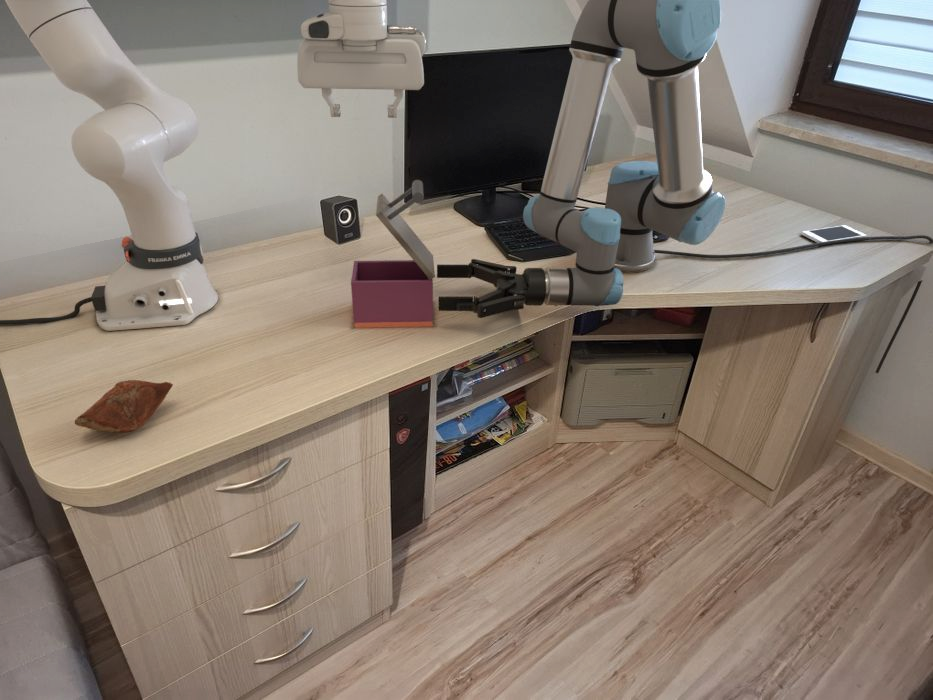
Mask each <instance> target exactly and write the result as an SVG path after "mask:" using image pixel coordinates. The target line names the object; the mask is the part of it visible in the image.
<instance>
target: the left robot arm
mask: <svg viewBox="0 0 933 700" xmlns="http://www.w3.org/2000/svg"><path fill="white" fill-rule="evenodd" d="M4 1H5V3H6V5H7V7H8V8H9V10H10V12H11V14H12V15H13V17H14V19H15V20H16V22H17V23H18V26H19V27H20V28H21V30H22V31H23V32H24V34H25V35H26V37H27V38H28V39H29V41H30V42H31V44H32V45H33V47H34V48H35V49H36V51H37V52H38V53H39V55H40V56H41V57H42V59H43V60H44V62H45V63H46V64H47V66H48V68H50V70H51V71H52V72H53V74H54V76H56V78H57V80H58V81H59V82H60V83H61V85H63V86H64V87H65V88H67V89H69V90H70V91H72V92H75V93H78V94H79V95H83V96H85V97H87V98H89V99H90V100H92V101H93V102H95V103H96V105H98V106H100V107H101V108H102V109H103V111H100V112H97V113H94V114H92V116H90V117H88V118H87V119H86V120H85V121H83V122H82V123H81V124H80V125H78V126H77V127H76V128H75V129H74V131H73V132H72V136H71V150H72V153H73V156H74V157H75V160H76V161H77V163H78V165H79V166H80V167H81V169H82V170H84V171H85V172H86V173H87V174H88V175H90V176H91V177H93V178H94V179H96V180H98V181H101V182H103V183H104V184H105V185H107V186H108V187H109V188H110V189H111V191H112V192H113V193H114V195H115V196H116V198H117V199H118V201H119V203H120V205H121V207H122V209H123V212H124V215H125V219H126V221H127V224H128V227H129V231H130V234H131V237H129V236H125V237H123V238H122V240H121V247H122V248H123V253H124V257H125V260H126V261H125V262H123V264H122V265H121V266H119V267H118V268H117V269H116V270H115V271H114V272H113V273H111V274H110V275H109V277H108V278H107V280H106V282H105V285H96V286H95V287H94V289H93V291H92V293H91V296H90V297H87V298H82V299H81V300H79V301H78V302H76V304H75V305H74V310H73V311H72V312H70V313H68V314H66V315H62V316H61V315H60V316H55V317H54V316H53V317H33V318H21V319H0V326H3V325H4V326H5V325H7V326H10V325H26V324H36V323H52V322H58V321H63V320H68V319H72V318H74V317H77V315H79V314H80V311H81V307H82V306H84V305H86V304H88V303H92V306H93V309H94V311H95V317H96V322H97V324H98V326H99V327H100V328H101V329H102V330H103V331H106V332H111V331H112V332H113V331H125V330H137V329H139V330H140V329H151V328H164V327H174V326H184V325H188V324H190V323H191V322H192V321H194V319H195V318H197V317H198V316H200V315H202V314H204V313H206V312H208V311H209V310H211V309H212V308H213V307H214V306H215V305H216V304H217V303H218V300H219V295H218V292H217V291H216V290H215V288H214V286H213V284H212V282H211V280H210V278H209V274H208V272H207V270H206V267H205V264H204V258H205V257H204V256H205V255H204V251H203V246H202V241H201V239H200V237H199V234H198V232H197V231H196V230H195V229H196V228H195V225H194V224H195V223H194V219H193V216H192V211H191V207H190V201H189V199H188V196H187V194H185V193H184V192H183V191H182V190H180V189H179V188H177V187H175V186H173V185H171V184H170V182H169V181H168V179H167V176H166V173H165V172H164V167H163V166H164V163H166V162H168V161H170V160H171V159H174V158H176V157H178V156H180V155H182V154H183V153H184V152H185V151H186V150H187V149H188V148H189V147H190V146H191V145H192V144H193V142H194V141H196V138H197V136H198V132H199V124H198V119H197V116H196V113H195V112H194V111H193V109H192V107H190V105H189V103H188V102H186V101H185V100H183V99H182V98H180V97H178V96H176V95H173V94H171V93H170V92H168V91H166V90H164V89H162V88H161V87H160V86H158V85H157V84H156V83H155V82H153V80H151V79H150V78H149V77H148V76H147V75H145V74H144V72H142V71H141V70H140V69H139V68H138V67H137V66H136V65H135V64H134V63H133V61H131V59H130V58H129V57H128V56H127V55H126V54H125V53H124V51H123V50H122V48H121V47H120V46H119V44H118V43H117V42H116V40H115V39H114V38H113V36H112V34H111V33H110V32H109V30H108V29H107V27H106V26H105V25H104V22H103V21H102V20H101V19H100V18H99V16H98V14H97V13H96V12H95V10H94V9H93V7H92V6H91V3H89V1H88V0H4ZM327 1H328V12H326V13H320V14H318V15H316V16H313V17H309V18H308V19H306V20H304V21H303V22H302V24H301V26H300V32H301V36H302V38H304V39H302V41H301V42H300V44H299V46H298V48H297V49H298V50H297V59H296V60H297V63H296V65H297V66H296V67H297V82H298V83H299V84H300V86H301V88H303V89H321V96H322V98H323V99H324V100H325V102H326V104H327V106H328V107H329V109H330V111H329V112H330V117H331V118H341V104H340V103H335V102H334V100H333V98H332V96H331V95H332V93H333V90H334V89H335V90H389V91H391V90H392V91H393V96H394V97H395V99H394V101H393V103H392V104H387V118H389V119H397V118H398V109H397V108H398V107H399V105H400V103H401V101H402V99H403V96H404V91H420V90H421V89H422V87H424V85H425V73H424V63H423V56H424V55H425V53H426V51H427V38H426V36H425V33H424V32H423V31H422V30H421V29H418V28H417V27H416V26H414V25H408V26H401V25H388V5H387V4H388V3H387V2H388V1H387V0H327Z"/></svg>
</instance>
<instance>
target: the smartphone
mask: <svg viewBox="0 0 933 700" xmlns="http://www.w3.org/2000/svg"><path fill="white" fill-rule="evenodd" d="M801 235H802V236H803V237H806V238H807V239H809V240H811V241H814V242H815V243H819V242H827V241H833V240H840V239H847V238H858V237H867V234H865V233H863V232H861V231H859V230H856V229H854V228H852V227H850V226H848V225H846V224H845V225H844V224H843V225H837V226H831V227H824V228H817V229H810V230H803V231H802V232H801Z"/></svg>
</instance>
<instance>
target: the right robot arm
mask: <svg viewBox="0 0 933 700" xmlns="http://www.w3.org/2000/svg"><path fill="white" fill-rule="evenodd" d="M721 23H722V5H721V0H587V2H586V4H585V5H584V7H583V9H582V11H581V13H580V15H579V17H578V20H577V22H576V24H575V27H574V29H573V32H572V36H571V41H570V44H569V49H568V50H569V52H570V54H571V56H572V59H571V64H570V68H569V72H568V76H567V80H566V84H565V89H564V93H563V97H562V101H561V105H560V109H559V114H558V118H557V122H556V125H555V130H554V134H553V139H552V142H551V147H550V150H549V155H548V159H547V163H546V167H545V171H544V175H543V180H542V185H541V188H540V191H539V194H536V195H533V196H532V197H531V198H529V200H528V201H527V204H526V205H525V206H524V209H523V213H522V219H523V222H524V225H525V226H526V227H527V229H529V230H531V231H532V232H534V233H536V234H538V235H539V236H541V237H544V238H545V239H548V240H551V241H553V242H555V243H557V244H559V245H561V246H563V247H565V248H567V249H569V250H571V251H573V252H575V253H576V258H575V263H574V265H575V267H546V268H545V269H544V268H542V267H526V268H524V270H523V273H522V274H520V273H517V269H518V267H517V266H515V265H504V264H499V263H494V262H491V261H486V260H482V259H476V258H472V259H471V260H470V262H468V264H436V278H437V279H471V278H476V279H477V280H481V281H483V282H486V283H489V284H491V285H493V287H494V288H496V289H495V290H493V291H490V292H488V293H486V294H484V295H481V296H479V297H478V296H476V295H474V296H473V295H471V296H462V295H461V296H460V295H459V296H452V295H451V296H443V295H442V296H438V301H437V303H438V304H437V305H438V306H437V307H438V312H473V313H474V314H476V315H477V318H478V319H484V318H487V317H491V316H496V315H499V314H502V313H506V312H510V311H514V310H515V311H516V310H523V309H525V308H524V307H525V306H526V307H530V306H531V307H537V306H543V305H545V306H553V307H558V306H578V307H579V306H580V307H581V306H586V307H587V306H588V307H589V306H590V307H591V306H593V307H603V306H614V305H617V304H618V303H619V302H620V301H621V299H622V297H623V294H624V284H625V283H624V275H623V273H640V272H645V271H647V270H649V269H651V268H652V267H653V266H654V263H655V259H656V254H663V255H673V256H682V257H692V258H702V259H732V258H748V257H758V256H768V255H775V254H780V253H787V252H793V251H799V250H803V249H804V250H805V249H808V248H809V249H810V248H815V247H818V246H819V247H820V246H826V245H832V244H839V243H840V244H841V243H847V242H848V243H849V242H856V241H857V242H859V241H877V240H914V239H925V240H927V241H929V243H931V244H933V238H932V237H931V236H929V235H925V234H916V235H905V236H902V235H901V236H900V235H888V236H887V235H885V236H884V235H882V236H866V237H858V238H847V239H840V240H833V241H827V242H819V243H817V242H815V243H809V244H804V245H798V246H793V247H786V248H780V249H774V250H767V251H758V252H747V253H733V254H706V253H705V254H704V253H703V254H702V253H694V252H683V251H675V250H674V251H673V250H666V249H665V250H664V249H654V237H653V231H654V232H656V233H659V234H661V235H663V236H665V237H667V238H670V239H672V240H675V241H677V242H679V243H684V244H687V245H689V246H697V245H700V244H702V243H704V242H705V241H706V240H707V239H708V238H709V237H710V236H711V235H712V234H713V233H714V231H715V230H716V228H717V227H718V226H719V223H720V222H721V220H722V219H723V215H724V213H725V208H726V198H725V196H724V195H722V193H720V192H718V191H717V192H715V191H714V190H713V179H712V176H711V174H710V173H709V172H708V170H706V169H704V159H703V157H704V156H703V141H702V139H703V138H702V137H703V136H702V121H701V119H702V118H701V101H700V100H701V99H700V81H699V66H700V65H701V64H702V63H703V62H704V60H705V59H706V56H707V54H708V53H709V51H711V49H712V47H713V46H714V44H715V43H716V40H717V38H718V32H717V31H718V29H720V28H721ZM624 49H629V50H633V52H634V55H635V65H636V68H637V71H638V73H639V74H640V75H642V76H643V77H645V78H646V79H647V86H648V95H649V96H648V97H649V104H650V114H651V121H652V122H651V123H652V130H653V139H654V147H655V155H656V156H655V157H656V161H649V160H632V161H624V162H621V163H618V164H616V165H614V166H613V167H612V169H611V171H610V176H609V180H608V182H607V189H606V197H605V202H604V203H605V204H604V207H602V206H601V207H600V206H593V207H589V208H587V209H585V210H583V211H581V210H579V209H576V203H577V200H578V197H579V196H578V195H579V192H580V189H581V185H582V181H583V178H584V174H585V170H586V166H587V162H588V159H589V155H590V152H591V148H592V144H593V140H594V138H595V134H596V129H597V126H598V123H599V120H600V119H599V118H600V115H601V111H602V108H603V104H604V100H605V97H606V93H607V89H608V86H609V82H610V78H611V76H612V71H613V67H614V66H615V65H616V64H618V63H619V62H621V59H622V55H623V53H624ZM922 282H923V279H921V280H918V281H917V284H916V285H915V288H914V290H913V293H912V295H911V297H910V299H909V301H908V303H907V305H906V307H905V310H904V312H903V314H902V316H901V317H900V320H899V321H898V324H897V326H896V328H895V330H894V332H893V334H892V336H891V338H890V340H889V342H888V344H887V346H886V348H885V351H884V353H883V354H882V357H881V358H880V361H879V363H878V365H877V368H876V370H875V374H879V373H880V371H881V368H882V366H883V364H884V362H885V361H886V358H887V356H888V354H889V352H890V350H891V348H892V345H893V344H894V341H895V339H896V337H897V335H898V334H899V332H900V329H901V328H902V326H903V323H904V321H905V319H906V317H907V315H908V313H909V312H910V310H911V307H912V305H913V303H914V300H915V299H916V296H917V295H918V292H919V290H920V287H921V285H922Z"/></svg>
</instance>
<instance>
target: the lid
mask: <svg viewBox="0 0 933 700" xmlns="http://www.w3.org/2000/svg"><path fill="white" fill-rule="evenodd" d="M411 183H412V184H411V187H410V188H408V189H407V190H406V191H404V192H403V193H402V194H401V195H400V194H399V196H397V197H396V198H395V199H393V200H392V201H391V202H390V201H389V200H388V198H387V197H386V196H385V195H384V193H380V194H379V195H378V196H377V201H376V209H375V216H376V218H378V220H379V221H380V222H381V223H382V225H383V226H384V227H385V228H386V229H387V231H388V232H389V233H390V234H391V235H392V237H394V239H395V240H396V241H397V242H398V244H399V245H400V246H401V247H402V248H403V249H404V250H405V252H406V253H407V254H408V255H409V257H410V258H411V260H414V261H415V262H416V264H417V265H418V266H419V267H420V268H421V269H422V271H423V272H424V273H425V274H426V275H427V277H428V278H429V279H430V280H431V279H433V280H434V278H436V272H435V260H434V255H433V253H432V252H431V251H430V250H429V249H428V247H427V246H426V245H425V243H423V241H422V240H421V239H420V237H419V236H418V235H417V234H416V233H415V232H414V231H413V229H412V228H411V226H410V225H409V224H408V223H407V222H406V221H405V219H404V218H403V216H401V213H402V212H404V211H405V210H406V209H408V208H410V207H411V206H412V205H413V204H421V203H423V202H424V200H425V194H424V183H423V181H422V180H420V179H415V180H413V181H412V182H411ZM410 195H412V198H411V199H409V200H408V201H406V202H405V203H403V205H401V206H399V207H398V208H395V206H396V205H398V203H400V202H401V201H403V200H404V199H405V198H407V197H408V196H410Z"/></svg>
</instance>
